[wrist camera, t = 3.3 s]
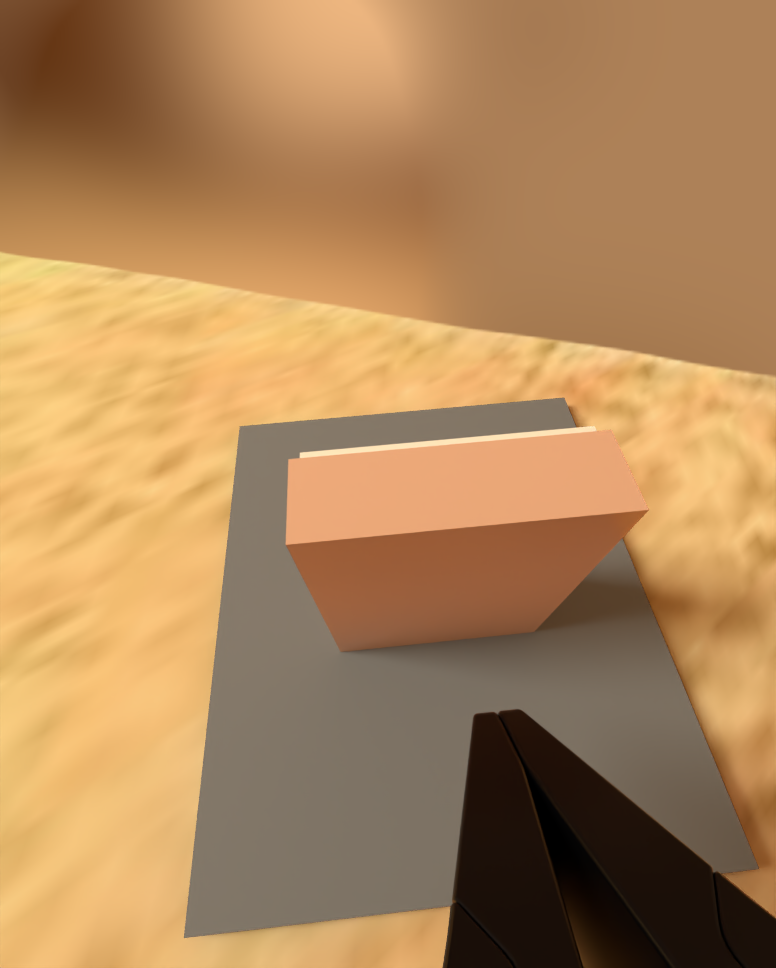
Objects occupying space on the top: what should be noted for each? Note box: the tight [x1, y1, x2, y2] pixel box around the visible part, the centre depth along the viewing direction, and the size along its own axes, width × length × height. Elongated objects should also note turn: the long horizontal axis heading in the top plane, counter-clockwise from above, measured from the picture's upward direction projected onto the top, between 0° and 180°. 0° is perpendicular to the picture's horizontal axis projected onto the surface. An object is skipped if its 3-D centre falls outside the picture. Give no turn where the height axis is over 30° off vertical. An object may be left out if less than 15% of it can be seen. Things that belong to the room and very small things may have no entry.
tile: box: [286, 426, 649, 652], centre depth 13 cm, size 2×7×9 cm, turn 95°
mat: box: [184, 398, 759, 938], centre depth 18 cm, size 18×16×1 cm
